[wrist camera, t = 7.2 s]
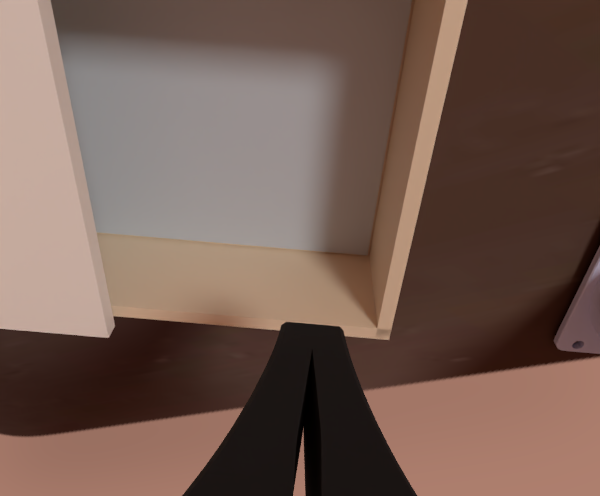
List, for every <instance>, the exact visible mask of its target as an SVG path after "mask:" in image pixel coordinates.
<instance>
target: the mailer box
mask: <svg viewBox="0 0 600 496" xmlns="http://www.w3.org/2000/svg"><path fill="white" fill-rule="evenodd" d="M467 1H468V0H51V5H52V10H53V15H54V20H55V25H56V30H57V35H58V40H59V45H60V50H61V56H62V61H63V66H64V71H65V76H66V81H67V86H68V91H69V96H70V101H71V106H72V111H73V116H74V121H75V126H76V131H77V136H78V142H79V147H80V152H81V157H82V162H83V167H84V172H85V177H86V182H87V187H88V192H89V197H90V202H91V207H92V212H93V217H94V223H95V228H96V233H97V238H98V243H99V248H100V253H101V258H102V263H103V268H104V273H105V278H106V283H107V288H108V293H109V298H110V303H111V309H112V314H113V316H119V317H130V318H142V319H153V320H165V321H177V322H188V323H200V324H211V325H223V326H235V327H246V328H258V329H269V330H280V328H281V325H282V324H284V323H285V322H296V323H307V324H319V325H330V326H340V327H341V328H342V329H343V331H344V336H350V337H362V338H374V339H385V340H389V337H390V333H391V329H392V324H393V320H394V316H395V311H396V307H397V303H398V298H399V294H400V290H401V285H402V281H403V277H404V273H405V268H406V264H407V260H408V255H409V251H410V247H411V242H412V238H413V234H414V229H415V225H416V221H417V217H418V212H419V208H420V204H421V199H422V195H423V191H424V186H425V182H426V178H427V173H428V169H429V165H430V160H431V156H432V152H433V148H434V143H435V139H436V135H437V130H438V126H439V122H440V117H441V113H442V109H443V104H444V100H445V96H446V92H447V87H448V83H449V79H450V74H451V70H452V66H453V61H454V57H455V53H456V48H457V44H458V40H459V35H460V31H461V27H462V23H463V18H464V14H465V10H466V5H467Z"/></svg>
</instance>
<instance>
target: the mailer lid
mask: <svg viewBox="0 0 600 496" xmlns="http://www.w3.org/2000/svg"><path fill="white" fill-rule="evenodd" d="M114 327H115V324H114V319H113V314H112V309H111V303H110V298H109V293H108V288H107V283H106V278H105V273H104V268H103V263H102V258H101V253H100V248H99V243H98V238H97V233H96V228H95V223H94V217H93V212H92V207H91V202H90V197H89V192H88V187H87V182H86V177H85V172H84V167H83V162H82V157H81V152H80V147H79V142H78V136H77V131H76V126H75V121H74V116H73V111H72V106H71V101H70V96H69V91H68V86H67V81H66V76H65V71H64V66H63V61H62V56H61V50H60V45H59V40H58V35H57V30H56V25H55V20H54V15H53V10H52V5H51V0H0V329H11V330H23V331H34V332H46V333H57V334H69V335H81V336H92V337H104V338H109V336H110V335H111V333H112V331H113V329H114Z"/></svg>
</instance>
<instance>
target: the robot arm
mask: <svg viewBox="0 0 600 496" xmlns="http://www.w3.org/2000/svg"><path fill="white" fill-rule="evenodd" d="M577 341H578V342H577ZM574 342H576V343H574ZM554 343H555V345H556V347H557V348H558V349H559V350H562V351H572V352H583V353H595V354H600V246H599V248H598V250H597V252H596V254H595V256H594V258H593V260H592V262H591V264H590V267H589V269H588V271H587V273H586V275H585V277H584V279H583V281H582V283H581V285H580V287H579V289H578V291H577V293H576V295H575V297H574V299H573V301H572V303H571V305H570V307H569V309H568V311H567V313H566V315H565V317H564V319H563V321H562V323H561V325H560V327H559V329H558V331H557V334H556V336H555V338H554ZM303 426H304V457H305V458H304V460H305V490H306V496H417V495H416V493H415V491H414V490H413V488H412V487H411V485H410V483H409V482H408V480H407V478H406V476H405V475H404V473H403V471H402V470H401V468H400V466H399V464H398V463H397V461H396V459H395V457H394V455H393V453H392V452H391V450H390V448H389V446H388V444H387V442H386V440H385V438H384V436H383V434H382V432H381V430H380V428H379V426H378V424H377V422H376V420H375V418H374V415H373V413H372V411H371V409H370V406H369V404H368V402H367V399H366V397H365V395H364V392H363V390H362V388H361V385H360V383H359V380H358V377H357V375H356V372H355V369H354V366H353V364H352V361H351V358H350V354H349V351H348V348H347V344H346V340H345V336H344V331H343V329H342V328H341V327H340V326H330V325H319V324H307V323H296V322H285V323H284V324H282V325H281V328H280V332H279V336H278V339H277V342H276V345H275V347H274V350H273V352H272V354H271V357H270V359H269V361H268V363H267V366H266V368H265V370H264V372H263V374H262V376H261V378H260V380H259V381H258V383H257V385H256V387H255V389H254V391H253V393H252V395H251V397H250V398H249V400H248V402H247V403H246V405H245V407H244V408H243V410H242V412H241V413H240V415H239V417H238V418H237V420H236V422H235V424H234V425H233V427H232V428H231V430H230V431H229V433H228V434H227V436H226V437H225V439H224V440H223V442H222V443H221V445H220V446H219V448H218V449H217V451H216V452H215V453H214V455H213V456H212V458H211V459H210V460H209V462H208V463H207V465H206V466H205V467H204V469H203V470H202V471H201V472H200V474H199V475H198V476H197V478H196V479H195V480H194V482H193V483H192V484H191V485H190V487H189V488H188V489H187V491H186V492H185V493H184V494H183V496H293V491H294V484H295V478H296V471H297V465H298V458H299V452H300V446H301V439H302V432H303Z"/></svg>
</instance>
